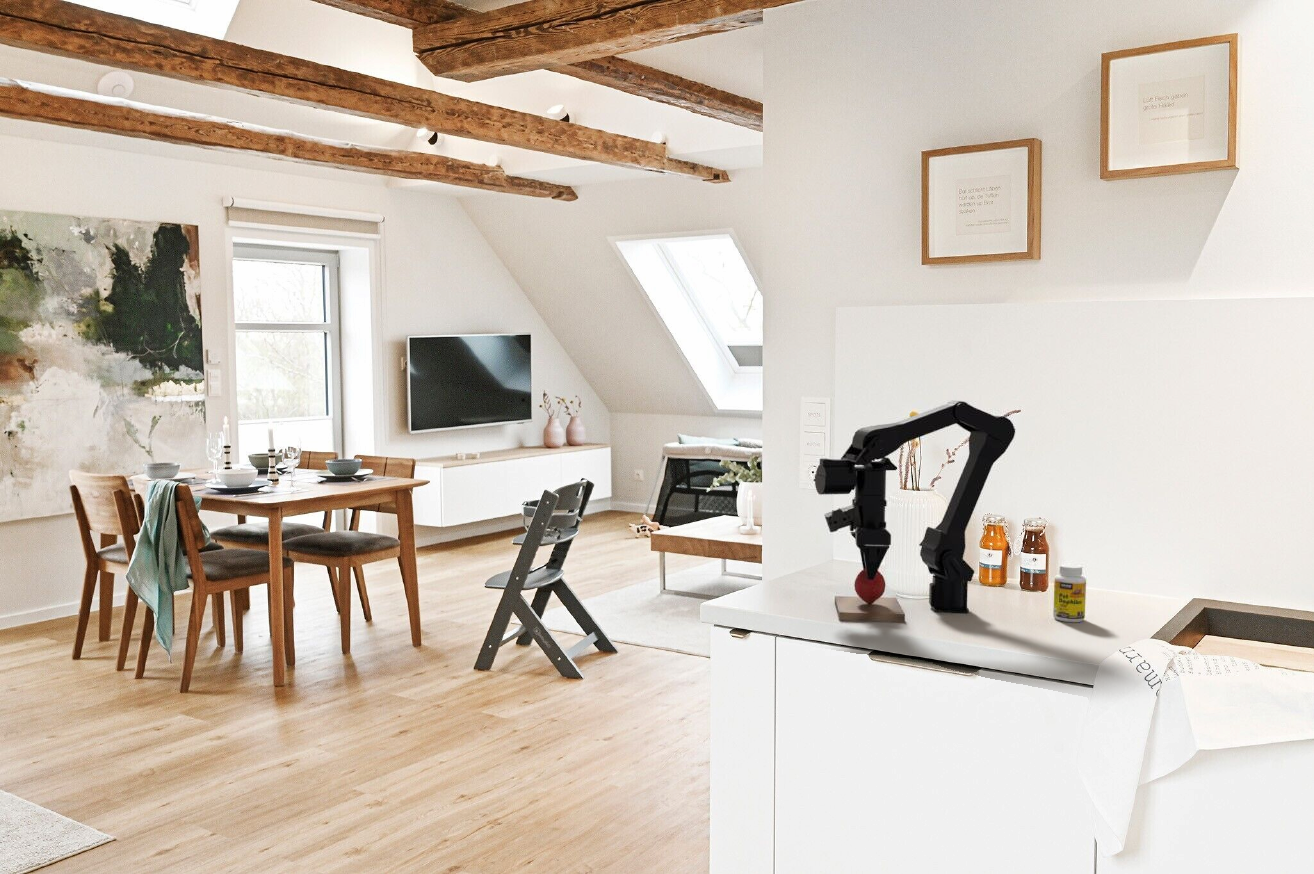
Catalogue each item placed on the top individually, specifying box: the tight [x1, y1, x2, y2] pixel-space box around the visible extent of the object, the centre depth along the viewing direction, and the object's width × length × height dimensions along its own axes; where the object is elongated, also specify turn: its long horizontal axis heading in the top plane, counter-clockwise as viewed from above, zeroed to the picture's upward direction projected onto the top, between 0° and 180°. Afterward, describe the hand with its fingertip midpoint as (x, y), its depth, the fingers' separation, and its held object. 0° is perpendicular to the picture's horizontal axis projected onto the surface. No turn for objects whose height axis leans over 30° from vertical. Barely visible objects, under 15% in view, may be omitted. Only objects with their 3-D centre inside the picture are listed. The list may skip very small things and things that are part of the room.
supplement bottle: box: [1052, 563, 1087, 623], centre depth 202 cm, size 6×6×10 cm
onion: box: [854, 568, 886, 604], centre depth 207 cm, size 6×6×8 cm
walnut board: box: [834, 595, 906, 623], centre depth 207 cm, size 12×14×2 cm
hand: (868, 574), depth 207 cm, fingers open, 9 cm apart
